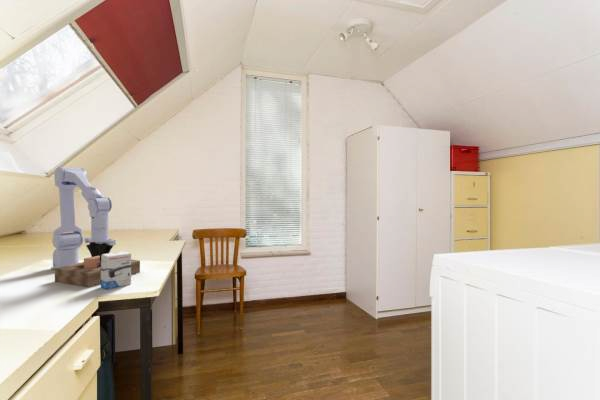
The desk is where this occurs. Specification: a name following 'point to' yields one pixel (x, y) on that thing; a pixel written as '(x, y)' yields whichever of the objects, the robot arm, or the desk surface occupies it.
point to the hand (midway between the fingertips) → (99, 261)
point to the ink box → (115, 269)
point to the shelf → (85, 274)
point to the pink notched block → (91, 262)
